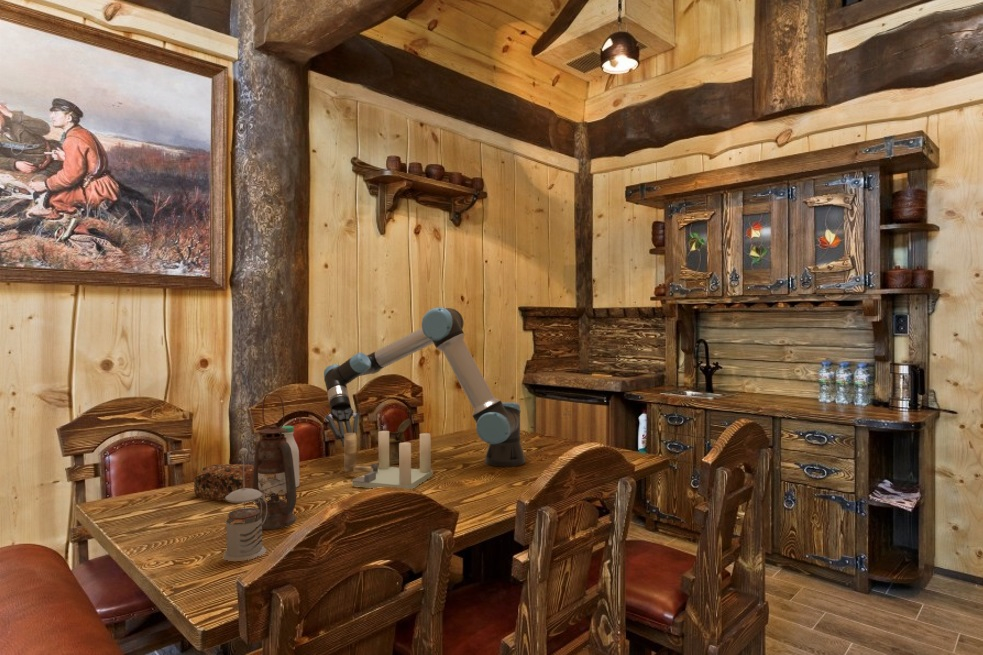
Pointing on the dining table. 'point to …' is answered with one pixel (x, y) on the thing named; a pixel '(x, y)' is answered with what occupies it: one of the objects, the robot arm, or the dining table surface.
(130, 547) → the dining table surface
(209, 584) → the dining table surface
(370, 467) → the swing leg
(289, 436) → the milk bottle
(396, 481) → the stool top
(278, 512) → the lantern
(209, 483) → the bread
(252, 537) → the french press
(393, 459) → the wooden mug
